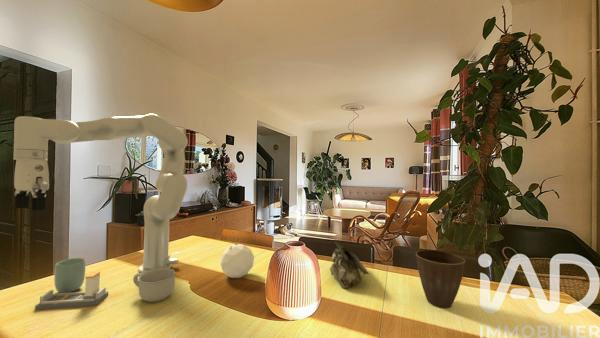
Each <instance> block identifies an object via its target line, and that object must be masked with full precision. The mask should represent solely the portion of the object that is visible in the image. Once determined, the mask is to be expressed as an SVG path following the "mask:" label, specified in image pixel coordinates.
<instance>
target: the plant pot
mask: <svg viewBox="0 0 600 338" xmlns="http://www.w3.org/2000/svg"><path fill="white" fill-rule="evenodd" d="M415 257H416V264H417V269H418V275H419V279H420V283H421V286H422V287H421V288H422V290H423V294H424V295H425V298H426V300H427V302H428V303H429V304H430V305H432V306H435V308H436V307H437V308H440V309H449V308H451V307H452V306H453V305H454V304H453V303H454V302H455V300H456V298H457V294H458V292H459V290H460V288H461V287H460V286H461V283H462V280H463V275H464V270H465V264H466V259H464V258H463V257H461V256H459V255H457V254H454V253H451V252H447V251H442V250H436V249H432V250H431V249H423V250H417V251H416V252H415Z"/></svg>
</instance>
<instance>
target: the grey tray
mask: <svg viewBox="0 0 600 338" xmlns="http://www.w3.org/2000/svg"><path fill="white" fill-rule="evenodd" d="M106 289H107V288H106V287H102V288H100V289H99V291H98V292H97V293H96V295H95V298H91V299H83V296H84V295H85V291H73V292H70V293H60V292H57V293H54V292H55V291H54V290H53V289H52V290H48V291H47V292H45V293H43V294H42V295H40V297H39V303H37V304H35V306H34V310H37V311H38V310H40V311H41V310H52V309H67V308H68V309H69V308H83V307H96V306H97V305H99V304H100V303H101V302H102V301H103V300H104V299H106V298H107V297H108V296H109V291H107V290H106Z"/></svg>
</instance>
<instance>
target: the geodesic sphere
mask: <svg viewBox="0 0 600 338" xmlns="http://www.w3.org/2000/svg"><path fill="white" fill-rule="evenodd" d="M254 261H255V257H254V253H253V252H252V249H251V248H249V247H248V246H247V245H245V244H242V243H239V242H238V243H237V242H234V244H232V245H229V246H228V247H226V249H225V250H224V251H223V253H221V257H220V266H221V270H222V273H224V274H225V275H226V276H228V277H229V278H231V279H232V278H233V279H241V278H243V277H244V276H245V275H247V274H248V273H249V272H250V271H251V269H252V268H253V267H254Z"/></svg>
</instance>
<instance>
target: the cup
mask: <svg viewBox="0 0 600 338" xmlns="http://www.w3.org/2000/svg"><path fill="white" fill-rule="evenodd" d="M86 262H87V261H86V259H85V258H83V257H82V258H80V257H76V258H75V257H74V258H68V259H64V260H63V259H62V260H60V261H57V262H56V263H55V266H54V277H53V279H54V281H53V282H54V287H55V290H56V291H57V293H72V292H76V291H78V290H79V289H80V288H82V286H83V285H84V283H85V278H86Z"/></svg>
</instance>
